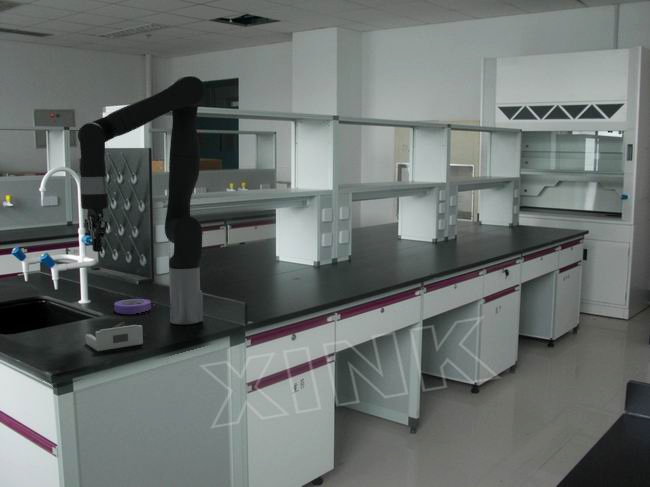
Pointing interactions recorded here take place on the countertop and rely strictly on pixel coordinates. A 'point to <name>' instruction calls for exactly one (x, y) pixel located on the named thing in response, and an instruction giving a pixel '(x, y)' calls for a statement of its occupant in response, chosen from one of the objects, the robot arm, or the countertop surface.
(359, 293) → the countertop surface
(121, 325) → the mineral rock
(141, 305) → the masking tape
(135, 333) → the dock
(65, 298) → the countertop surface
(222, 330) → the countertop surface
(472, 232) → the countertop surface
